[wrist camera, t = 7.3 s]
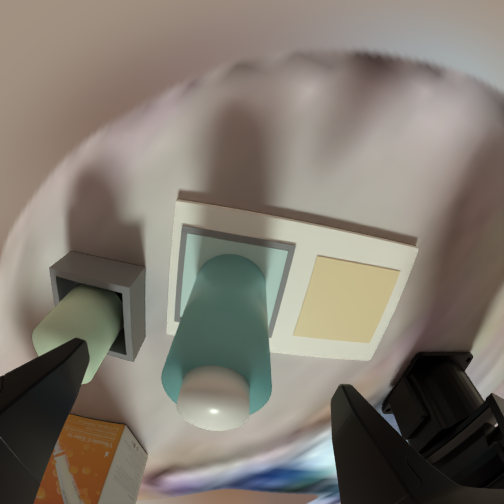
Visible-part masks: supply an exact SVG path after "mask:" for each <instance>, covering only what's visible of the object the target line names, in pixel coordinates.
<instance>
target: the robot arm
mask: <svg viewBox="0 0 504 504" xmlns="http://www.w3.org/2000/svg"><path fill="white" fill-rule="evenodd" d="M472 359H473V355H472V354H471V353H470V352H420V353H418V354H417V355H415V357H414V358H413V360H412V362H411V363H410V365H409V367H408V368H407V370H406V372H405V373H404V375H403V376H402V378H401V380H400V381H399V383H398V384H397V386H396V387H395V389H394V390H393V392H392V393H391V395H390V396H389V398H388V399H387V401H386V402H385V404H384V405H383V406H382V408H381V409H382V412H383V413H384V414H392V413H393V414H394V416H395V419H396V422H397V424H398V427H399V429H400V432H401V435H402V436H401V435H400V434H399V433H398V432H397V431H396V430H395V429H394V428H393V427H392V426H391V425H390V424H389V423H388V422H387V421H386V420H385V419H384V418H383V417H382V416H381V415H380V414H379V413H378V412H377V411H376V410H375V409H374V408H373V407H372V406H371V405H370V404H369V402H368V401H367V400H366V399H365V398H364V397H363V396H362V395H361V394H360V393H359V392H358V391H357V390H356V389H355V388H354V387H353V386H352V385H350V384H340V385H339V386H338V388H337V390H336V392H335V393H334V395H333V397H332V399H331V426H332V443H333V450H334V456H335V463H336V470H337V477H338V485H339V493H340V501H341V504H504V399H502V398H500V397H499V396H497V395H495V394H493V393H491V394H490V395H489V396H488V397H487V398H486V400H485V401H484V400H483V398H482V397H481V395H480V394H479V392H478V391H477V389H476V388H475V386H474V385H473V383H472V381H471V380H470V378H469V377H468V376H467V374H466V373H465V370H466V368H467V367H468V365H469V364H470V362H471V360H472ZM89 361H90V355H89V350H88V345H87V342H86V340H84V339H80V338H73V339H71V340H70V341H68V342H66V343H64V344H62V345H60V346H58V347H56V348H54V349H52V350H50V351H48V352H47V353H45V354H43V355H41V356H39V357H37V358H35V359H33V360H31V361H29V362H27V363H26V364H24V365H22V366H20V367H18V368H16V369H14V370H12V371H10V372H8V373H6V374H5V375H3V376H1V377H0V504H34V502H35V499H36V496H37V493H38V490H39V487H40V484H41V481H42V478H43V475H44V473H45V470H46V468H47V465H48V462H49V460H50V457H51V455H52V452H53V450H54V447H55V445H56V443H57V440H58V438H59V436H60V433H61V431H62V429H63V426H64V424H65V422H66V420H67V417H68V415H69V413H70V411H71V409H72V407H73V404H74V402H75V400H76V398H77V396H78V393H79V390H80V387H81V384H82V381H83V378H84V376H85V373H86V370H87V367H88V365H89ZM496 423H498V426H497V427H495V426H494V425H495V424H496ZM406 440H408V442H407V441H406Z"/></svg>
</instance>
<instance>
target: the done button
mask: <svg viewBox="0 0 504 504" xmlns="http://www.w3.org/2000/svg"><path fill="white" fill-rule="evenodd" d="M123 326H124V317H123V304H122V302H121V300H120V299H119V297H118V296H117V294H116V293H115V292H114V291H111V290H107V289H103V288H99V287H95V286H91V285H87V284H83V283H78V284H77V285H76V286H75V287H74V288H73V289H72V290H71V291H70V292H69V293H68V294H67V295H66V296H65V297H64V298H63V299H62V300H61V301H60V302H59V303H58V304H57V305H56V306H55V307H54V308H53V309H52V311H51V312H50V313H49V314H48V315H47V316H46V317H45V318H44V319H43V320H42V321H41V322H40V323H39V324H38V326H37V327H36V328H35V329H34V331H33V334H32V341H33V345H34V348H35V350H36V352H37V354H38V356H41V355H43V354H45V353H47V352H48V351H50V350H52V349H54V348H56V347H58V346H60V345H62V344H64V343H66V342H68V341H70V340H71V339H73V338H80V339H84V340H86V342H87V345H88V350H89V355H90V361H89V365H88V367H87V370H86V373H85V376H84V378H83V381H82V384H86V383H89V382H90V381H91V380H92V378H93V377H94V375H95V373H96V371H97V370H98V368H99V366H100V364H101V363H102V361H103V359H104V357H105V356H106V354H107V352H108V351H109V349H110V347H111V345H112V344H113V342H114V340H115V339H116V337H117V335H118V334H119V332H120V331H121V329H122V327H123Z"/></svg>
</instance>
